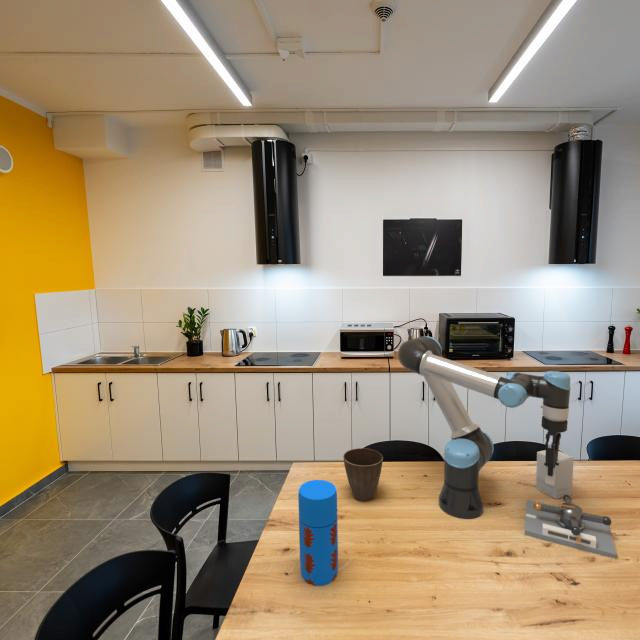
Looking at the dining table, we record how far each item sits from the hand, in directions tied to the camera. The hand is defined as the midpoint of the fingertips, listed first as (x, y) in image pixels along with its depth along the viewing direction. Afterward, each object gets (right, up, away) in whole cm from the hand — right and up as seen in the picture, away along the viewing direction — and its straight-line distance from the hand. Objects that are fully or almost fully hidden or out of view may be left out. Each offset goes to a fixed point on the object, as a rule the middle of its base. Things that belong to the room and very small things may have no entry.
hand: (550, 483), depth 136 cm
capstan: (+2, -11, -7) cm, 13 cm away
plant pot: (-63, -12, +15) cm, 66 cm away
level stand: (+2, -12, -6) cm, 14 cm away
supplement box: (+11, -10, +17) cm, 22 cm away
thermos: (-80, -16, -23) cm, 84 cm away
